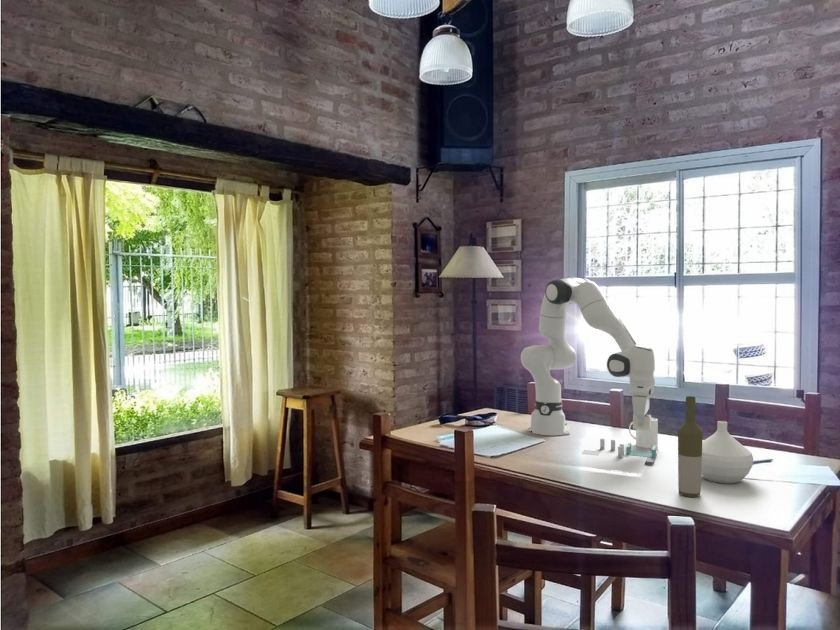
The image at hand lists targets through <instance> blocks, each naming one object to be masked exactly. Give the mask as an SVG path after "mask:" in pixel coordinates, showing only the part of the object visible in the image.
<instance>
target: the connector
mask: <svg viewBox="0 0 840 630" xmlns="http://www.w3.org/2000/svg"><path fill="white" fill-rule="evenodd" d="M651 417H652V414H648V413H646V414H645V416H644V425H643V427H640V426H638V417H635V416H634V414H633V415H632V422H633V424H632V429H633V430H636V429H640V430H650V429H651Z"/></svg>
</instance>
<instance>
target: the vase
mask: <svg viewBox="0 0 840 630" xmlns="http://www.w3.org/2000/svg"><path fill="white" fill-rule="evenodd" d="M753 466H754V457H753V454H752V452H751V450H749V449H748V448H746V446H744V445H743V444H741V443H740V442H739V441H738V440H737V439H736V438H734V437H733V436H732V435H731V434H730V433H729V432H728V422H727V421H725V420H719V421H717V425H716V431H715V432H714V433H713V434H712V435H710V436H709V437H707V438H705V439H704V440H702V467H701V477H703V478H704V479H705V480H707V481H710V482H713V483H719V484H737V483H739V482H741V481H742V480H744V479H745V478H746V476H748V475H749V474H750V471H751V470H752V468H753Z"/></svg>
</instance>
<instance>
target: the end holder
mask: <svg viewBox="0 0 840 630" xmlns="http://www.w3.org/2000/svg"><path fill="white" fill-rule="evenodd" d="M625 451H626V452H625V453H626V456H636V457H643V458H647V457H651V458H655V456H656V453H657V450H656V446H655V445H654V446H653V448H652V451H639V450H632V442H628V444H627V445H626V447H625ZM651 452H652V453H651ZM656 457H657V456H656Z"/></svg>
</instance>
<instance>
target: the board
mask: <svg viewBox="0 0 840 630" xmlns="http://www.w3.org/2000/svg"><path fill="white" fill-rule="evenodd" d="M605 441H606V440H605V438H600V440H599V443H600V444H599V447H600V448H599V449H600V450H602V451H603V450H605V448H606V447H605ZM610 451H613V452H614V451H616V439H610ZM650 452H651V453H652V451H650ZM600 453H601V451H597V450H589V449H584V450H583V451H581V455H590V456H598V455H599V454H600ZM657 453H658V452H656V456H655V458H651V457H646V460H645V462H644V465H645V466H646V465H647V466H654V465H655V464H654V463H655V461H656V459H657ZM623 456H625V444H623V443H620V444H619V445H618V446H617V458H618V459H623Z"/></svg>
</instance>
